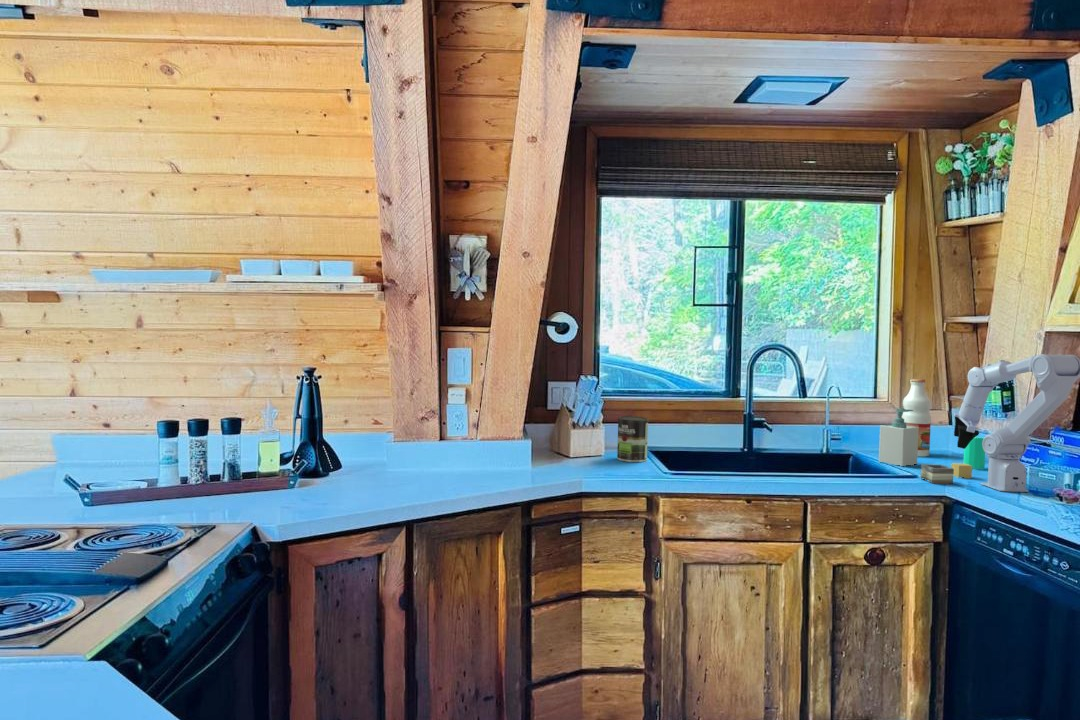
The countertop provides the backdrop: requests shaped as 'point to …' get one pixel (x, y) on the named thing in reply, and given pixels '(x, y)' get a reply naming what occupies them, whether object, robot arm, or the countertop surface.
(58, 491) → the countertop surface
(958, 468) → the ochre block
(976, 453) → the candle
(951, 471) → the tower base
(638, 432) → the coffee can
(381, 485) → the countertop surface
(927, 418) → the fruit juice
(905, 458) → the soap bottle
